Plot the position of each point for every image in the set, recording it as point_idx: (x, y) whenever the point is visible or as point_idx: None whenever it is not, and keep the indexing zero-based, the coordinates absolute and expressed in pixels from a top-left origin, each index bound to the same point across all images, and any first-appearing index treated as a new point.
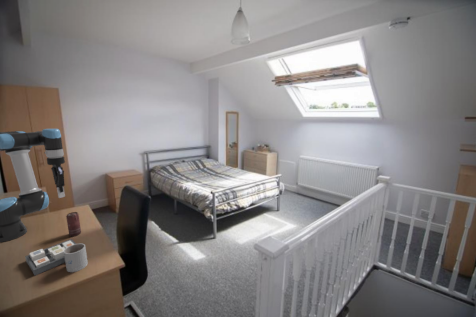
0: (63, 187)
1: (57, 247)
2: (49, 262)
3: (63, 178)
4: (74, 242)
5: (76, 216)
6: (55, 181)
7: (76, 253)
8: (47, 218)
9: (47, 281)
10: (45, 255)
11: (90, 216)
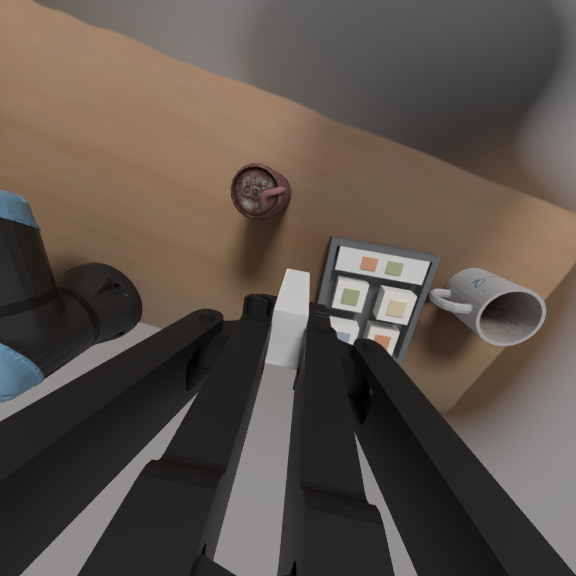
0: (308, 309)
1: (353, 291)
2: (397, 329)
3: (471, 463)
4: (367, 245)
5: (282, 185)
6: (199, 388)
7: (536, 326)
8: (36, 179)
9: (448, 352)
10: (357, 323)
11: (153, 53)
